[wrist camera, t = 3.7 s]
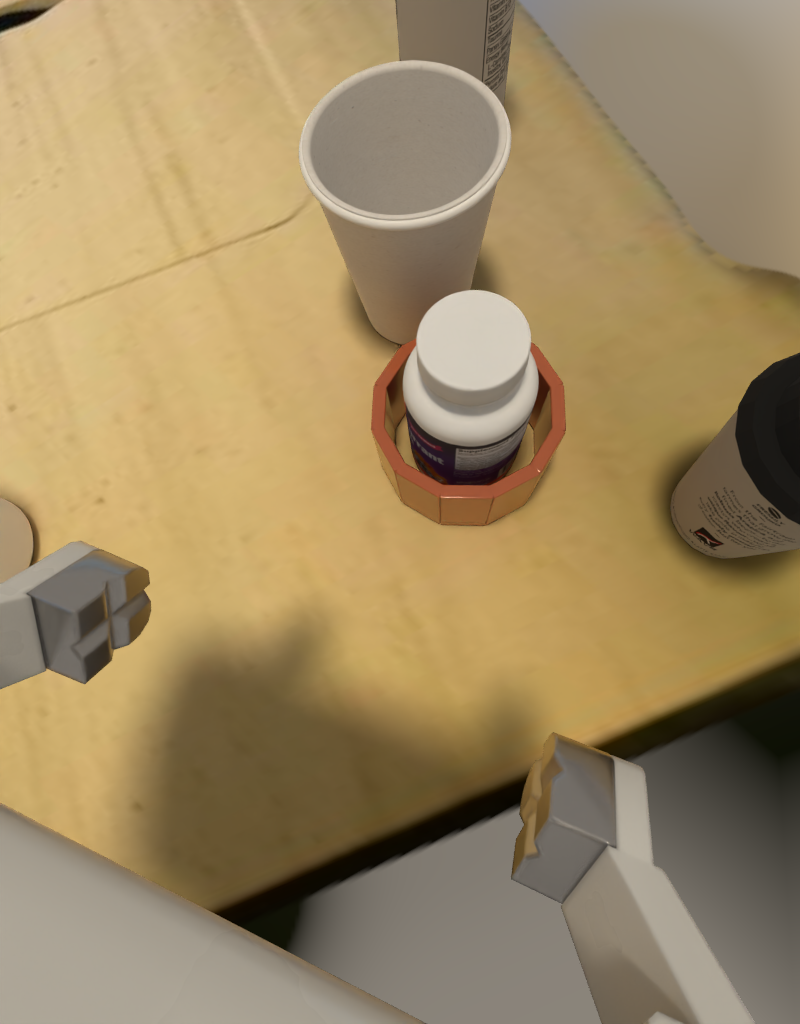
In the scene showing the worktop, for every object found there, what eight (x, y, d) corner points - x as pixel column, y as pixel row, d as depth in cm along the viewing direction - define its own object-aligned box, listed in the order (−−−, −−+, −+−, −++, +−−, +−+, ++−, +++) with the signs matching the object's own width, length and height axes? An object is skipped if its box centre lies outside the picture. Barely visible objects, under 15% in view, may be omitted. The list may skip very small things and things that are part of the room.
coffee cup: (674, 598, 25) (818, 556, 15) (624, 462, 27) (725, 350, 17) (822, 565, 25) (1059, 503, 15) (761, 431, 27) (938, 301, 17)
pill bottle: (398, 418, 29) (376, 299, 19) (493, 386, 29) (518, 252, 19) (431, 511, 27) (425, 429, 18) (532, 476, 27) (579, 378, 18)
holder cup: (578, 476, 27) (604, 440, 23) (431, 554, 26) (428, 533, 22) (492, 349, 29) (501, 294, 25) (355, 419, 29) (340, 376, 25)
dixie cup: (500, 249, 31) (526, 63, 21) (477, 377, 29) (494, 234, 19) (359, 234, 32) (324, 50, 23) (327, 356, 30) (273, 211, 20)
